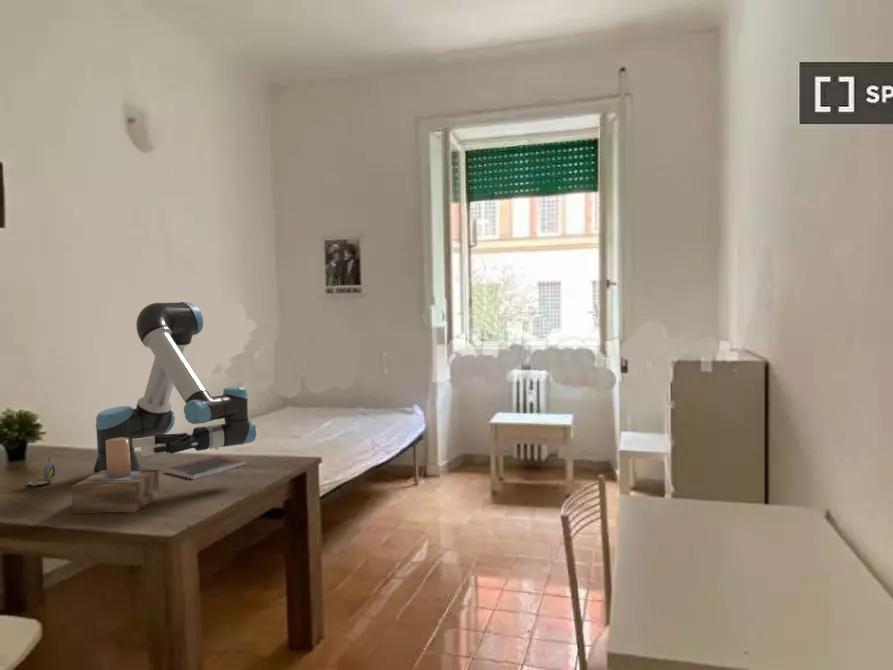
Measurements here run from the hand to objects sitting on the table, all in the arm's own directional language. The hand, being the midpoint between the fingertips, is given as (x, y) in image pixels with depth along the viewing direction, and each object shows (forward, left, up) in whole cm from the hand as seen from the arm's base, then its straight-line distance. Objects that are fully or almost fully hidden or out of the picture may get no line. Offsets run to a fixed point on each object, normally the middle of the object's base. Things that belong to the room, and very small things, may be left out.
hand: (136, 447), depth 201 cm
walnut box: (+4, -4, -16) cm, 17 cm away
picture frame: (-34, +9, -17) cm, 39 cm away
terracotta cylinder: (+3, -4, -8) cm, 9 cm away
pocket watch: (-19, -40, -16) cm, 48 cm away
